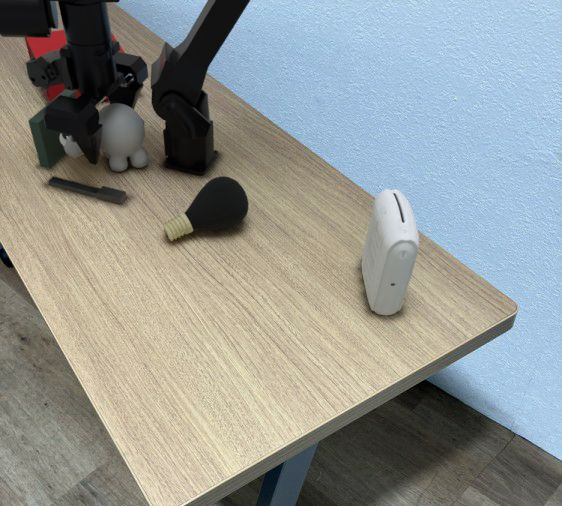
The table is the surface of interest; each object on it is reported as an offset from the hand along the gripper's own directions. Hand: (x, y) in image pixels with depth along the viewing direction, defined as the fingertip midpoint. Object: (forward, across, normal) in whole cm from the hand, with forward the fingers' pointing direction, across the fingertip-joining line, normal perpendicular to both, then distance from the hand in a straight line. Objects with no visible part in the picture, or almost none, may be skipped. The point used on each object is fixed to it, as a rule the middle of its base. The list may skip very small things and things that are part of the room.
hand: (108, 148), depth 90 cm
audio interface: (+2, -21, -16) cm, 26 cm away
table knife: (+2, +8, 0) cm, 8 cm away
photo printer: (+2, +12, +44) cm, 46 cm away
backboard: (+2, 0, -8) cm, 8 cm away
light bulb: (+2, +9, +19) cm, 21 cm away
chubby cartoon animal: (+2, +1, 0) cm, 2 cm away
